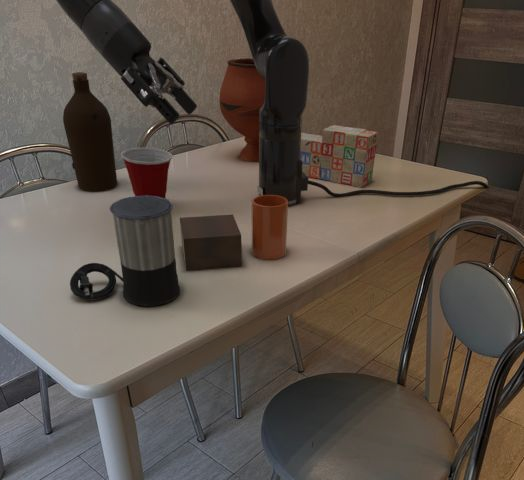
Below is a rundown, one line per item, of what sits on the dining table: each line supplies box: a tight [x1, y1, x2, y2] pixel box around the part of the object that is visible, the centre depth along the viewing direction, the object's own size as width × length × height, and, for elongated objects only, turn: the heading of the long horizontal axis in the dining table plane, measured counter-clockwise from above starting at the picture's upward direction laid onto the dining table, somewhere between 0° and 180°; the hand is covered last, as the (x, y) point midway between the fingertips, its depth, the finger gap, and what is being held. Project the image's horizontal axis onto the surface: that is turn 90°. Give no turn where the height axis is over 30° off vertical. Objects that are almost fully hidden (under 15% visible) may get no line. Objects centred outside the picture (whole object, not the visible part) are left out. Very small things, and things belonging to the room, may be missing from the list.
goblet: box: [218, 57, 266, 162], centre depth 147 cm, size 19×19×25 cm
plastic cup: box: [120, 147, 173, 199], centre depth 116 cm, size 11×11×12 cm
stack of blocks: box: [300, 124, 379, 188], centre depth 136 cm, size 21×6×12 cm, turn 58°
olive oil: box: [62, 71, 118, 192], centre depth 125 cm, size 11×11×25 cm
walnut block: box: [179, 213, 243, 271], centre depth 97 cm, size 10×10×6 cm
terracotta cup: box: [251, 195, 289, 261], centre depth 98 cm, size 6×6×10 cm
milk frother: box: [69, 195, 181, 307], centre depth 83 cm, size 14×16×15 cm
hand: (185, 115), depth 94 cm, fingers open, 8 cm apart
